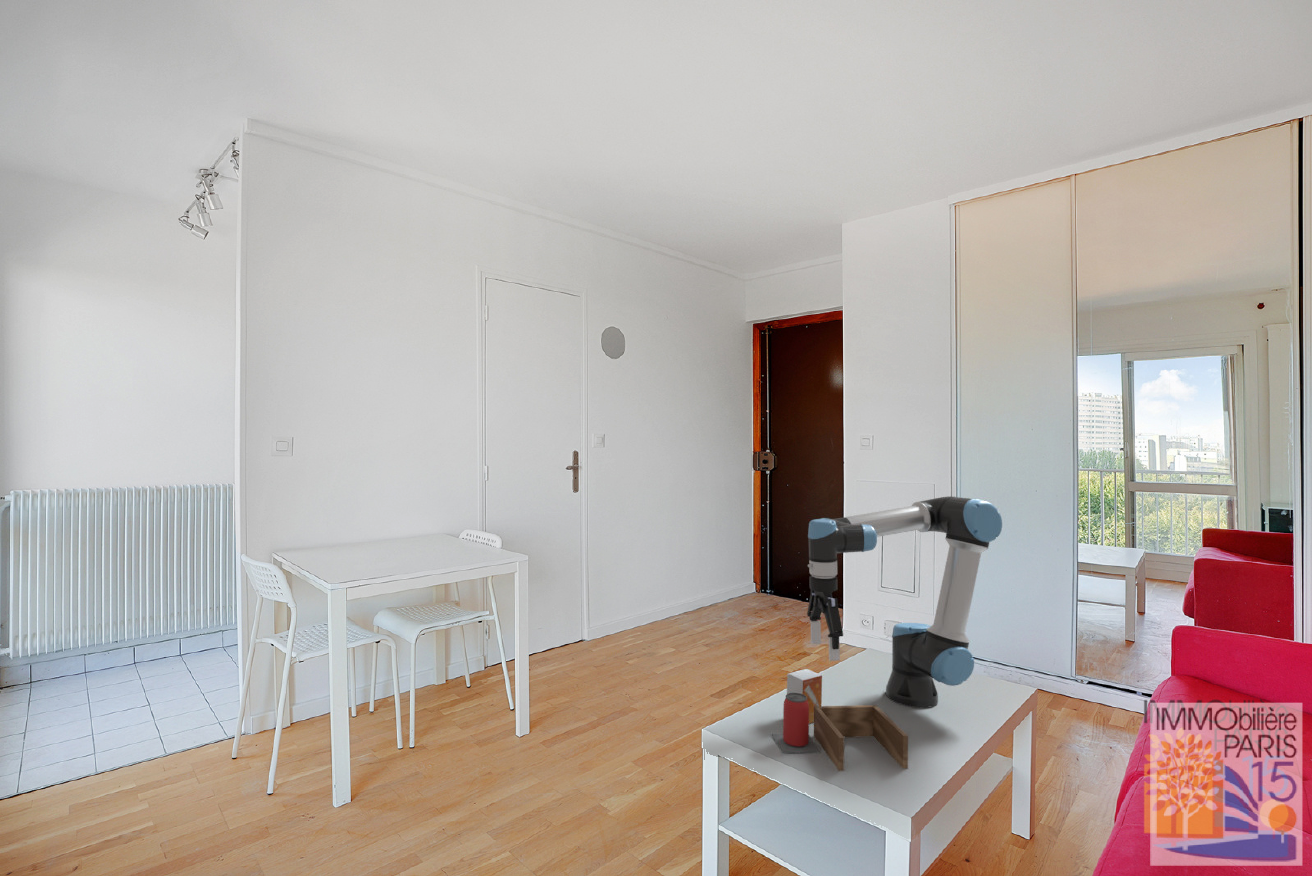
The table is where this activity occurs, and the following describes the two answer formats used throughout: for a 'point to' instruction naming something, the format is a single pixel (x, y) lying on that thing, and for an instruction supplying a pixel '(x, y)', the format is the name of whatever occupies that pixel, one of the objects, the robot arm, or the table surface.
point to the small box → (806, 688)
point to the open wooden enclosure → (858, 731)
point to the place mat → (788, 749)
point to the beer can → (796, 720)
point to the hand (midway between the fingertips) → (824, 651)
